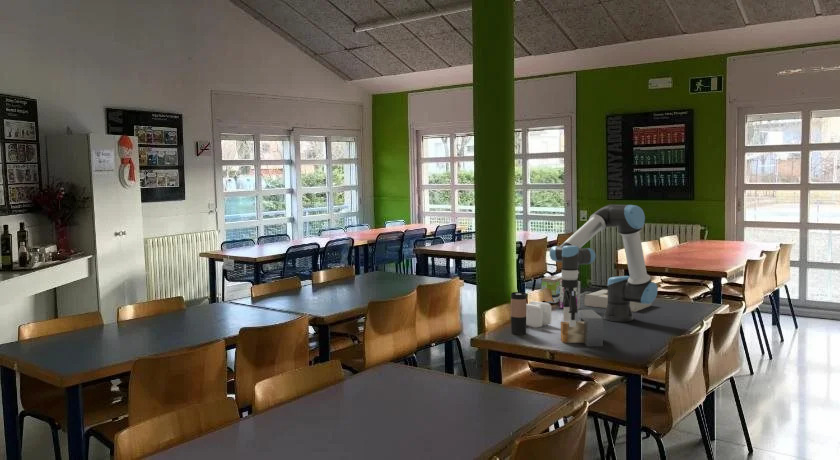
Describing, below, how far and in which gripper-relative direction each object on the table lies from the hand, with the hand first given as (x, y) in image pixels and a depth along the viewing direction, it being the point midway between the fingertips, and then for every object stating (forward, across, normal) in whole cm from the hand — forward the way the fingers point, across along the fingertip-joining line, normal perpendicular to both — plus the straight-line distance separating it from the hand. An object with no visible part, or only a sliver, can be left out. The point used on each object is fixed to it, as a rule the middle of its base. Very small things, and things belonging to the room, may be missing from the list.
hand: (569, 323), depth 325 cm
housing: (+8, 0, -10) cm, 13 cm away
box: (+8, +86, -47) cm, 98 cm away
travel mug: (+9, +18, +21) cm, 29 cm away
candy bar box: (+8, +78, -17) cm, 80 cm away
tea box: (+8, +103, -12) cm, 104 cm away
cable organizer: (+9, +35, +10) cm, 38 cm away
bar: (+8, 0, -6) cm, 10 cm away
